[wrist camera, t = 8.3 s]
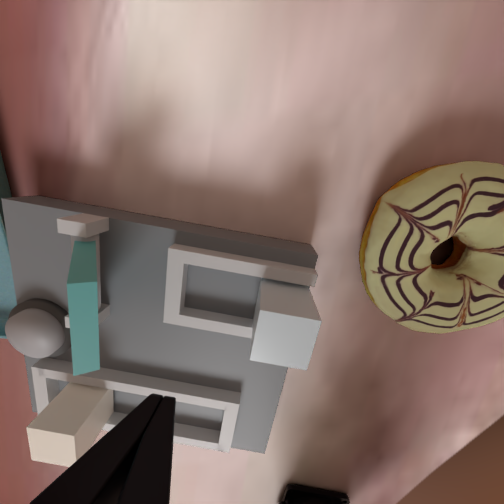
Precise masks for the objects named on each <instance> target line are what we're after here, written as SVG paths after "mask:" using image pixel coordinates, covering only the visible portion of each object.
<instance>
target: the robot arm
mask: <svg viewBox="0 0 504 504" xmlns="http://www.w3.org/2000/svg"><path fill="white" fill-rule="evenodd" d="M175 408H176V398H175V397H171V396H164V397H163V395H160V394H154V393H153V394H150V395H149V396H148V397H147V398H146V399H144V400H143V401H142V402H141V403H140V404H139V405H138V406H137V407H136V408H134V409H133V410H132V411H131V412H130V413H129V414H128V415H127V416H126V417H125V418H123V419H122V420H121V421H120V422H119V423H118V424H117V425H116V426H115V427H113V428H112V429H111V430H110V431H109V432H108V433H107V434H106V435H105V436H103V437H102V438H101V439H100V440H99V441H98V442H97V443H96V444H95V445H93V446H92V447H91V448H90V449H89V450H88V451H87V452H86V453H85V454H84V455H82V456H81V457H80V458H79V459H78V460H77V461H76V462H75V463H74V464H72V465H71V466H70V467H69V468H68V469H67V470H66V471H65V472H64V473H62V474H61V475H60V476H59V477H58V478H57V479H56V480H55V481H54V482H52V483H51V484H50V485H49V486H48V487H47V488H46V489H45V490H44V491H42V492H41V493H40V494H39V495H38V496H37V497H36V498H35V499H34V500H33V501H31V502H30V504H169V500H170V484H171V469H172V454H173V438H174V423H175ZM349 503H350V501H349V497H348V495H346V494H342V493H336V492H331V491H325V490H320V489H314V488H309V487H303V486H298V485H292V484H290V485H287V487H286V490H285V493H284V496H283V499H282V501H281V502H280V503H279V504H349Z"/></svg>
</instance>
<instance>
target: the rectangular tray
mask: <svg viewBox="0 0 504 504" xmlns="http://www.w3.org/2000/svg"><path fill="white" fill-rule="evenodd" d="M1 198H12V194H11V191H10V187H9V183H8V179H7V175H6V171H5V167H4V163H3V159H2V156H1V152H0V338H6V339H7V337H6V333H5V325H6V322H7V321H8V317H9V314H10V312H11V310H12V309H13V308H14V307H15V306H17V302H16V295H15V288H14V282H13V275H12V268H11V261H10V254H9V248H8V241H7V234H6V227H5V221H4V214H3V207H2V200H1Z"/></svg>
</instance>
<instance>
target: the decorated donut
mask: <svg viewBox="0 0 504 504" xmlns="http://www.w3.org/2000/svg"><path fill="white" fill-rule="evenodd" d="M450 237H453V241H454V244H453V245H454V250H453V252H452V254H451V256H450V257H449V258H448V259H446V261H445V262H444V263H443V264H441V265H434V264H431V260H430V255H431V253H432V251H433V250H434V249H435V248H436V247H437V246H438V245H439V244H440V243H442V242H444V241H445V240H447V239H449V238H450ZM359 262H360V269H361V275H362V282H363V283H364V286H365V290H366V292H367V294H368V295H369V297H370V298H371V300H372V301H373V303H374V304H375V305H376V306H377V307H378V308H379V309H380V310H381V311H382V312H383V313H384V314H386V315H388V316H389V317H391V318H392V319H393V320H395V321H396V322H397V323H398V324H400V325H403V326H405V327H407V328H409V329H411V330H414V331H418V332H427V333H438V334H440V333H448V332H454V331H460V330H464V329H470V328H475V327H479V326H483V325H486V324H489V323H492V322H495V321H497V320H499V319H502V318H504V166H503V165H502V164H499V163H489V162H481V161H464V162H459V163H451V164H445V165H437V166H432V167H430V168H426V169H423V170H421V171H418V172H415V173H413V174H412V175H410V176H408V177H406V178H404V179H402V180H400V181H399V182H397V183H396V184H395V185H393V186H392V187H391V188H390V189H389V190H388V191H387V192H385V193H384V194H383V195H382V196H381V197H380V198H379V199H378V201H377V203H376V205H375V207H374V209H373V212H372V214H371V216H370V219H369V221H368V223H367V226H366V228H365V231H364V233H363V236H362V241H361V245H360V251H359Z"/></svg>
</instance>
